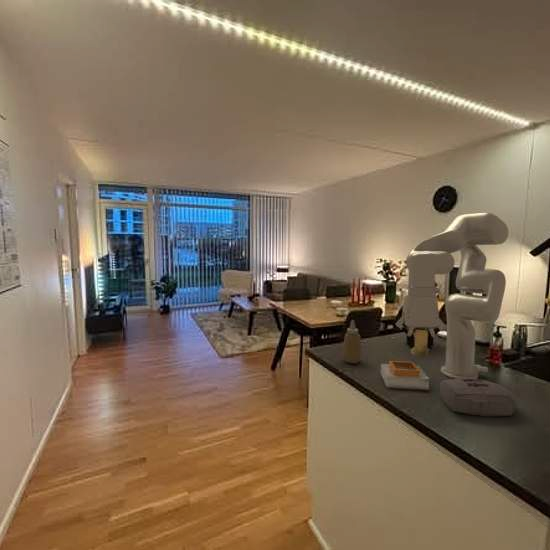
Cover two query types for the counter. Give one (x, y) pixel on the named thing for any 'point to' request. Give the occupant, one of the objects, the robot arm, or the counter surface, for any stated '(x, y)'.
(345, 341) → the squeeze bottle
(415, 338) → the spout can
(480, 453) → the counter surface
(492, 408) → the grey rounded bag
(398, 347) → the counter surface
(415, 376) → the orange white open box
